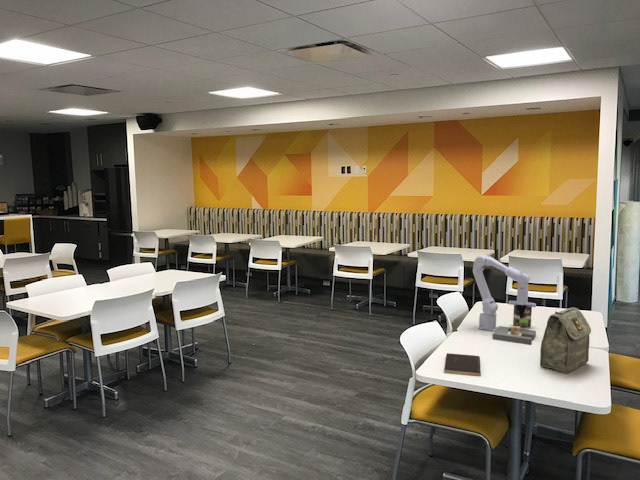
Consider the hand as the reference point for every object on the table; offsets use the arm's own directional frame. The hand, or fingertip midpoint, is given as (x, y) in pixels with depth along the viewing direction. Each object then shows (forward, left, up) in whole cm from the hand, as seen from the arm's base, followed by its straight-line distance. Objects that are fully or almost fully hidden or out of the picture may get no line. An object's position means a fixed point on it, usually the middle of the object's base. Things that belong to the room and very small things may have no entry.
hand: (521, 317), depth 302 cm
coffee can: (-2, +16, -10) cm, 19 cm away
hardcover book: (-15, -68, -10) cm, 71 cm away
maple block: (-1, -12, -6) cm, 14 cm away
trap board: (-2, -9, -9) cm, 13 cm away
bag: (+27, -43, -10) cm, 52 cm away
